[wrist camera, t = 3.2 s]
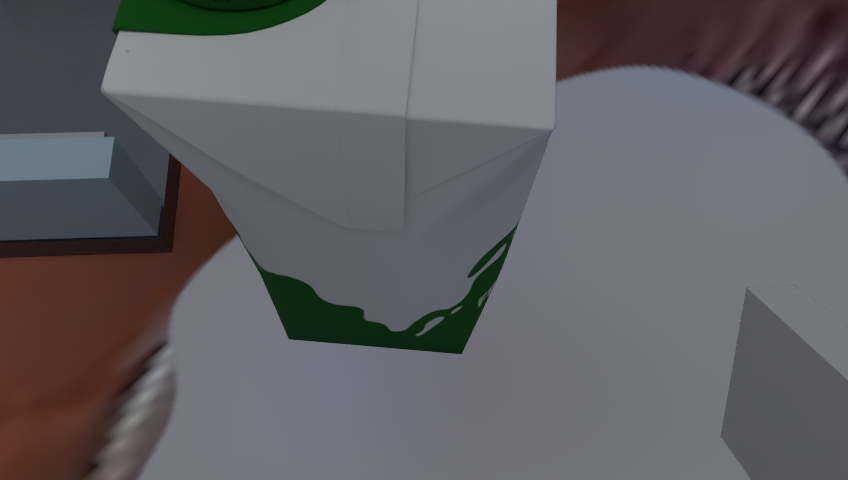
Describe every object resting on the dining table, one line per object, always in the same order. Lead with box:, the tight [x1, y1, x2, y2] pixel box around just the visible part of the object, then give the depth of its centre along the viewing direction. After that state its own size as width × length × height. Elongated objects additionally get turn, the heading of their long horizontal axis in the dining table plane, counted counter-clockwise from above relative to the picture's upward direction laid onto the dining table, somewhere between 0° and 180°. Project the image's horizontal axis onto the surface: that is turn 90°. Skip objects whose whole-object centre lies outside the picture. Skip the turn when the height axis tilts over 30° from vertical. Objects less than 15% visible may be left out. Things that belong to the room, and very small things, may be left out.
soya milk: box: [101, 0, 557, 354], centre depth 20 cm, size 9×9×20 cm
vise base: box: [0, 0, 181, 257], centre depth 30 cm, size 17×11×6 cm, turn 3°
